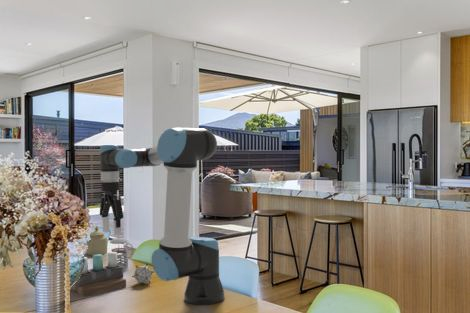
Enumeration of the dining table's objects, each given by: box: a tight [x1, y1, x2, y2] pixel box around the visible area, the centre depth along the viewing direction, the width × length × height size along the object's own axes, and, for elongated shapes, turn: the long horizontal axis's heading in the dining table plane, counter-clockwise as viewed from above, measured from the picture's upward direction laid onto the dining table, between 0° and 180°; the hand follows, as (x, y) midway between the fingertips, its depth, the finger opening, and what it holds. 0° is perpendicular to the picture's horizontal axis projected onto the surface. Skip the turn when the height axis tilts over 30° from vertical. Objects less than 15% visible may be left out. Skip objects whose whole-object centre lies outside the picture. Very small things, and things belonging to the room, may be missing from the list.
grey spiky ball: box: [131, 263, 155, 286], centre depth 198 cm, size 9×8×10 cm
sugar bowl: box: [86, 226, 108, 256], centre depth 260 cm, size 15×11×15 cm
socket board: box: [70, 265, 127, 297], centre depth 193 cm, size 14×19×8 cm
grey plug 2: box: [106, 251, 118, 268], centre depth 197 cm, size 4×4×6 cm
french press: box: [109, 235, 134, 273], centre depth 221 cm, size 10×12×25 cm
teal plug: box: [92, 254, 104, 271], centre depth 193 cm, size 4×4×6 cm
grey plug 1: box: [82, 256, 89, 274], centre depth 189 cm, size 4×4×6 cm
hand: (111, 233), depth 197 cm, fingers open, 10 cm apart
